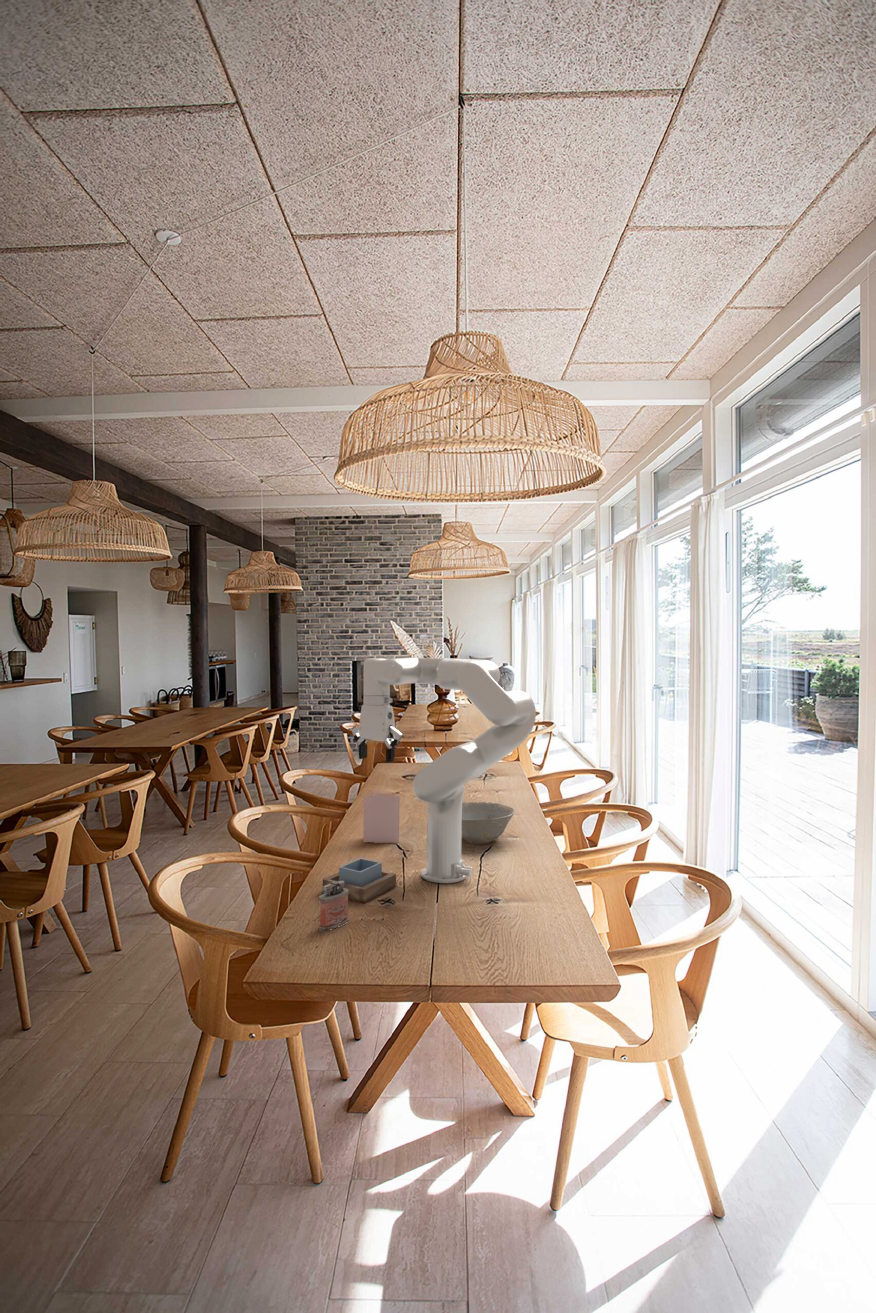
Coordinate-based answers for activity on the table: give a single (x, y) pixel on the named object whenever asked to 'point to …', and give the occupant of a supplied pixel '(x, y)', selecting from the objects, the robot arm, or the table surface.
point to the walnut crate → (366, 887)
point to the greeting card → (381, 818)
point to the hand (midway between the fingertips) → (376, 760)
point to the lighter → (333, 906)
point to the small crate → (360, 872)
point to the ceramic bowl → (484, 821)
